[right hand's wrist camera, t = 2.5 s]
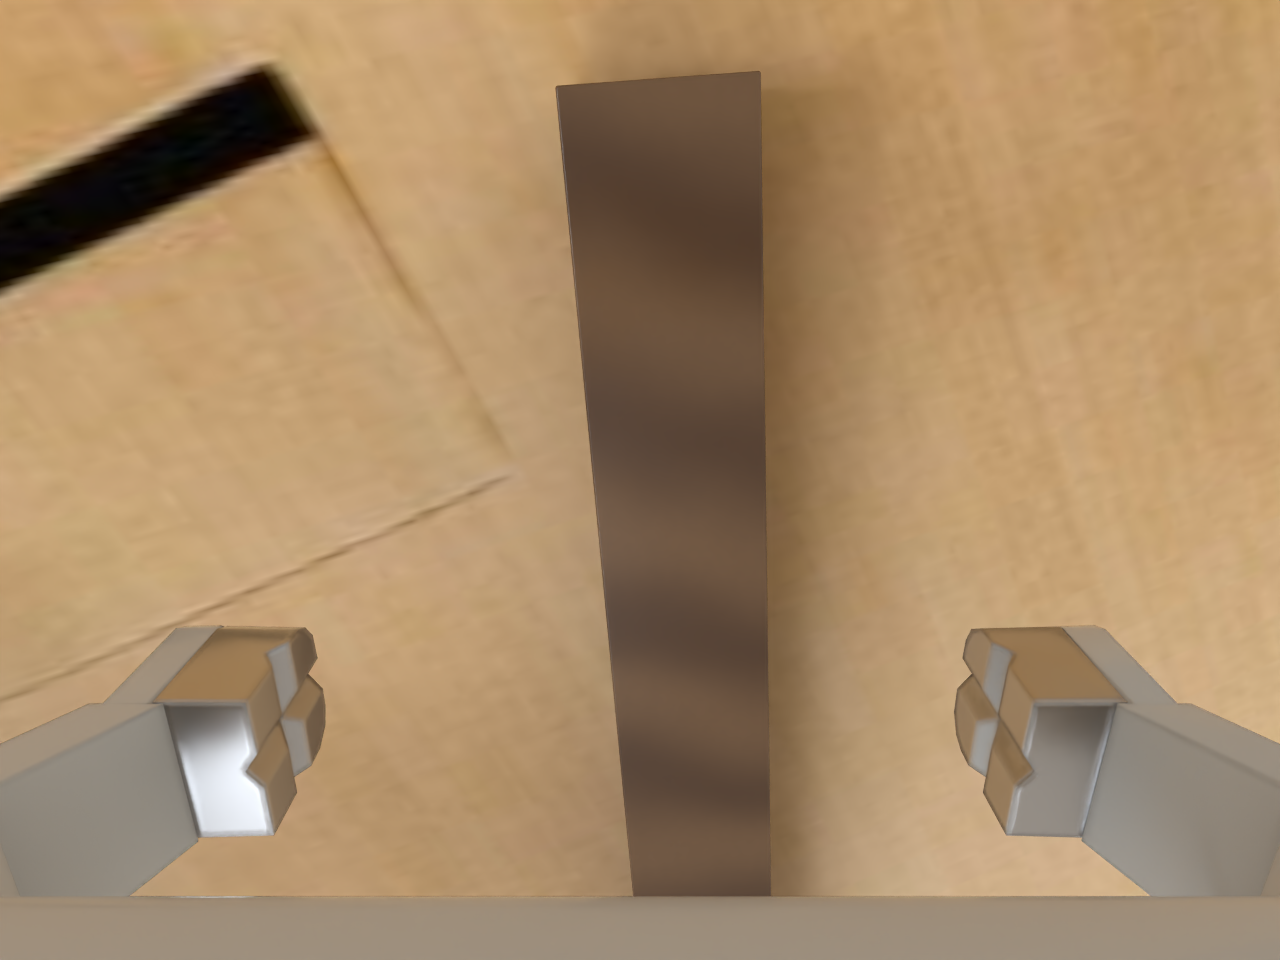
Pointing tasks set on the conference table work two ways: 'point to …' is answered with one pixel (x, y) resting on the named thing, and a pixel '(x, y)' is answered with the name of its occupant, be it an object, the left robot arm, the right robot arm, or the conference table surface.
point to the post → (678, 460)
